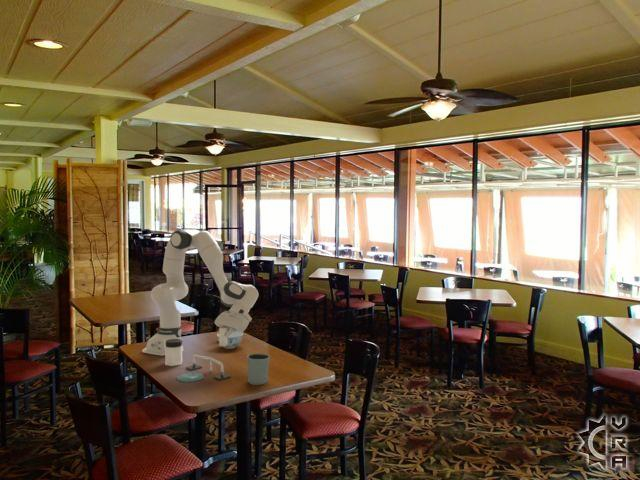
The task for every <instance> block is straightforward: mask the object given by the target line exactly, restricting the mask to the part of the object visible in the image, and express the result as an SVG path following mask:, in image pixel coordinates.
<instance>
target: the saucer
mask: <svg viewBox="0 0 640 480" xmlns="http://www.w3.org/2000/svg"><path fill="white" fill-rule="evenodd" d="M203 379H204V374H203V373H200V372H187V373H186V372H185V373H182V374H179V375H178V376H177V377H176V380H177V382H182V383H194V382H199V381H201V380H203Z"/></svg>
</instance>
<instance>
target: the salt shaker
mask: <svg viewBox="0 0 640 480" xmlns="http://www.w3.org/2000/svg"><path fill="white" fill-rule="evenodd" d="M218 328H219V327H218ZM218 331H219V340H218V344H219V347H224V346H227V338H228V337H226V336H225V335H224V334H225V333H226V332H228V327H220V328H219V329H218Z"/></svg>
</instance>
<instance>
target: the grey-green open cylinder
mask: <svg viewBox="0 0 640 480" xmlns="http://www.w3.org/2000/svg"><path fill="white" fill-rule="evenodd" d="M246 359H247V372H248V375H247V378H248V379H247V381H248V384H250V385H253V386H255V385H256V386H258V385H259V386H261V385H264V384H266V383H267V382H268V375H269V374H268V373H269V365H270V364H269V363H270V355H269V354H266V353H258V352H257V353H250V354H248V355H247V356H246Z"/></svg>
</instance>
